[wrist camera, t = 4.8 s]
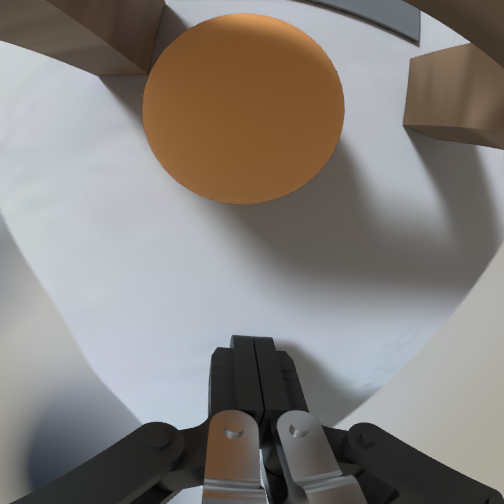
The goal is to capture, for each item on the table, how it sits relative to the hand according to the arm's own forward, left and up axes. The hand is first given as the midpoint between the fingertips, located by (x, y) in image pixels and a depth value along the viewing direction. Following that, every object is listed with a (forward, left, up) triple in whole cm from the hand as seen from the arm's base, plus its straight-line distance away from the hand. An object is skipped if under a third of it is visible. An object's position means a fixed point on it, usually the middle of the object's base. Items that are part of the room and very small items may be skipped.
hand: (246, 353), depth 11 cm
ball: (-5, -6, +1) cm, 8 cm away
